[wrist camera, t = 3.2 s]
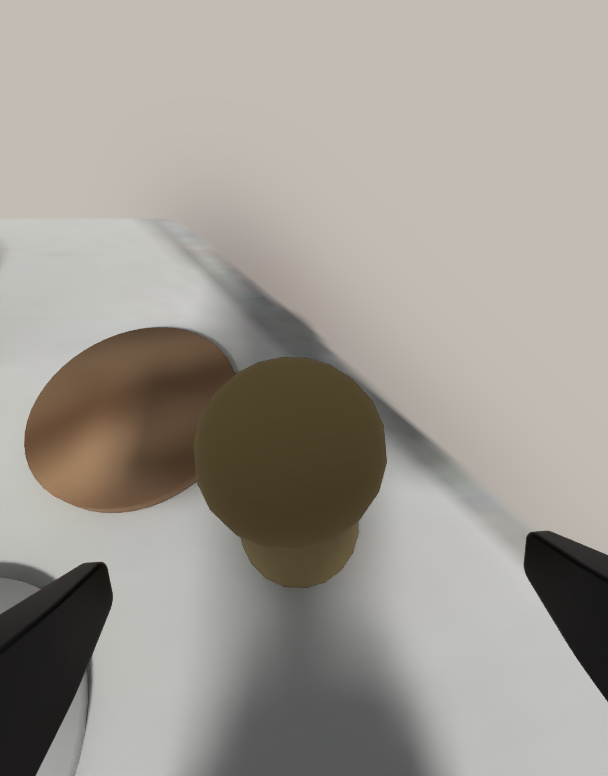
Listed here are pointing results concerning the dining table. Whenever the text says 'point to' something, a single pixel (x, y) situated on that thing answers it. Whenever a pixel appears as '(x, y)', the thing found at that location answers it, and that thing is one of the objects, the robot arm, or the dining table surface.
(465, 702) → the dining table surface
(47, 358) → the dining table surface
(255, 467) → the olive chess pawn
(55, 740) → the grey round disc
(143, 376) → the walnut trivet
